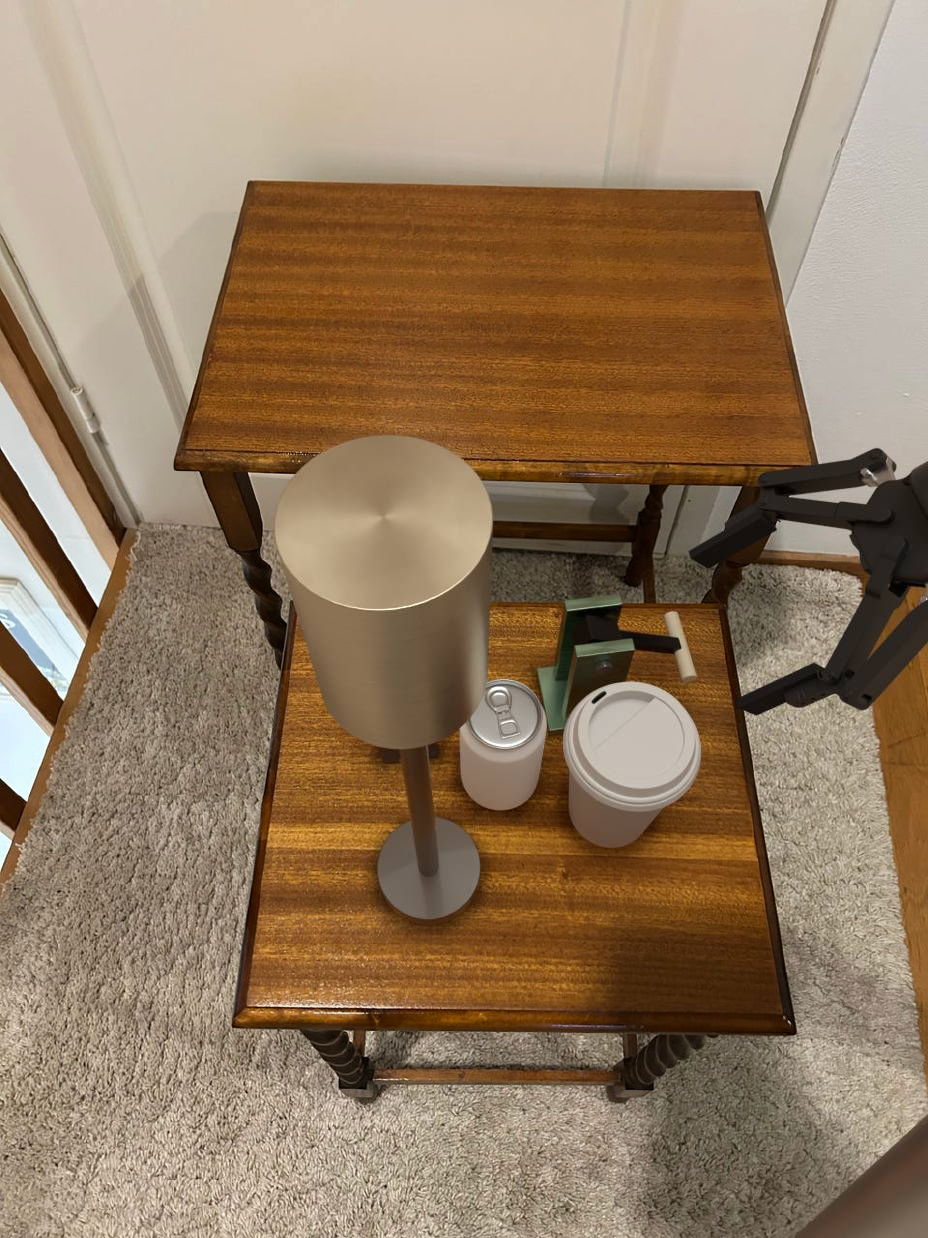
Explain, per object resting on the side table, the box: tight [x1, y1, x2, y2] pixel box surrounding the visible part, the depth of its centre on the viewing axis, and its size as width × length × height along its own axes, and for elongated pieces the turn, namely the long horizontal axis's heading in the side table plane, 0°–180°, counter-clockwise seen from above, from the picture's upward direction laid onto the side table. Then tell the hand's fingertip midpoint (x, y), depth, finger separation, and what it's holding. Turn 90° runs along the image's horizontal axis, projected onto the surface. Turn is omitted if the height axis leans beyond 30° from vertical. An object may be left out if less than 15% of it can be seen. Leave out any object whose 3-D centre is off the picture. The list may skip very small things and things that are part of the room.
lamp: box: [273, 434, 494, 927], centre depth 54 cm, size 8×8×46 cm
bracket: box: [535, 593, 636, 737], centre depth 76 cm, size 7×6×13 cm
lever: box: [571, 610, 698, 683], centre depth 73 cm, size 10×6×2 cm, turn 98°
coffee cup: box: [562, 681, 702, 849], centre depth 70 cm, size 10×10×15 cm
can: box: [459, 678, 547, 811], centre depth 73 cm, size 6×6×12 cm
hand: (720, 630), depth 74 cm, fingers open, 13 cm apart
